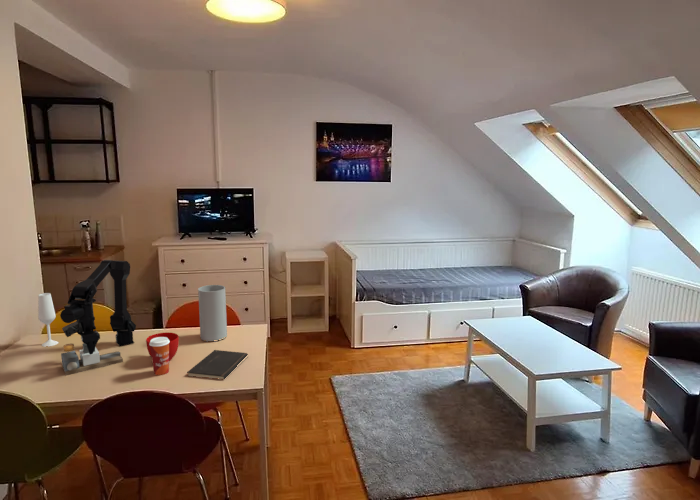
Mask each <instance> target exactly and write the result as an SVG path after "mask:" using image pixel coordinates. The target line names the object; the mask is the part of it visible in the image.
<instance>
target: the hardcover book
mask: <svg viewBox="0 0 700 500" xmlns="http://www.w3.org/2000/svg"><path fill="white" fill-rule="evenodd" d="M247 355H248V356H249V354H248V353H247V352H241V351H230V350H229V351H228V350H221V349H220V350H218V349H214V350H212V351H211V352H210V353H208V354H207V356H205V357H204V358H203V359H202V360H200V361H199V362H198V363H196V364H195V365H194V366H193V367H192V368H191V369H189V370H188V371H187V372H186V373H187V376H188V377H193V376H196V377H195V378H202V377H209V378H208V379H212V378H219V379H218V380H221V379H225V378H226V377H227V376H228V375H229V374H230V373H231V372H232V371H233V370H234V369H235V368H236V367H237V365H238V364H239V363H240V362H241V361H242V360H243V359H244V358H245V357H246V356H247ZM237 368H238V367H237ZM237 368H236V369H237ZM236 369H235V370H236ZM235 370H234V371H235ZM234 371H233V372H234ZM233 372H232V373H233ZM232 373H231V374H232ZM231 374H230V375H231ZM230 375H229V376H230ZM229 376H228V377H229ZM228 377H227V378H228ZM227 378H226V379H227ZM226 379H225V380H226Z"/></svg>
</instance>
